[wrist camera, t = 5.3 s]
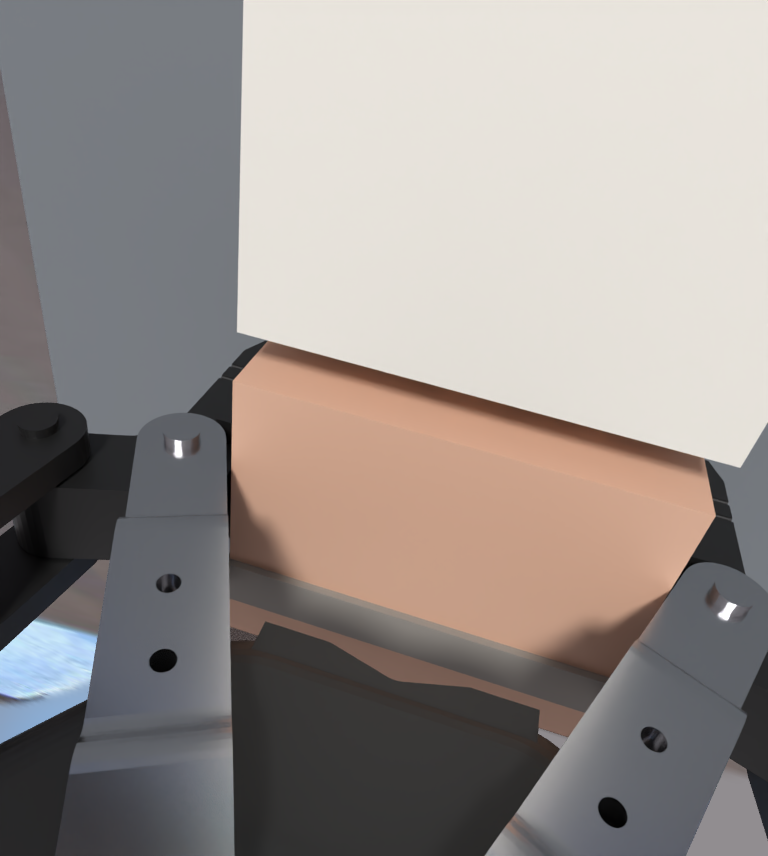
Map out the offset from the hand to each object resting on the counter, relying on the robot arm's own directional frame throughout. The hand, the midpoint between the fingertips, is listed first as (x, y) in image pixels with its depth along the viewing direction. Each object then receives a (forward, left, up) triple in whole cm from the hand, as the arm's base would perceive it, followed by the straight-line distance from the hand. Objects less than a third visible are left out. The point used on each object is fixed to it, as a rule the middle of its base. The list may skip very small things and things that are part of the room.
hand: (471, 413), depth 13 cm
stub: (0, 0, -1) cm, 1 cm away
